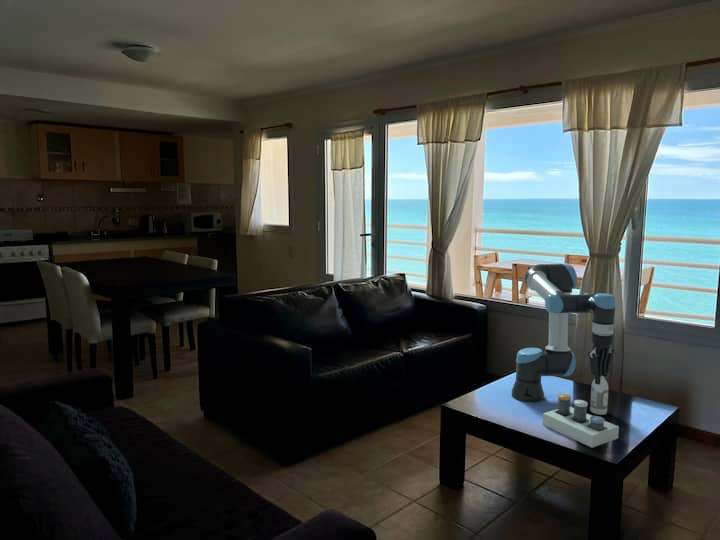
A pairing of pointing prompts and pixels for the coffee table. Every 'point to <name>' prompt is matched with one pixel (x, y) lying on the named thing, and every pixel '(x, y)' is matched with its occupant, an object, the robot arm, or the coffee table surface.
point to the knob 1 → (564, 404)
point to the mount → (580, 428)
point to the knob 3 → (597, 423)
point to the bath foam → (599, 399)
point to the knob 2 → (580, 411)
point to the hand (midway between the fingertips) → (598, 391)
